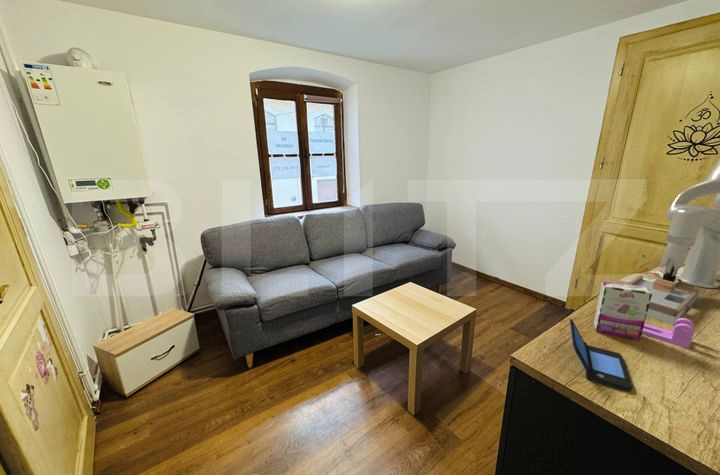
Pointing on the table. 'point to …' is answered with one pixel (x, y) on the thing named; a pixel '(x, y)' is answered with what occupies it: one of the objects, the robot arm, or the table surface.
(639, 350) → the table surface
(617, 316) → the candy bar box
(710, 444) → the table surface
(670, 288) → the block
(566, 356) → the table surface
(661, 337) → the bracket
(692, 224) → the robot arm
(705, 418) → the table surface
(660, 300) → the box
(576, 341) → the handheld game console
